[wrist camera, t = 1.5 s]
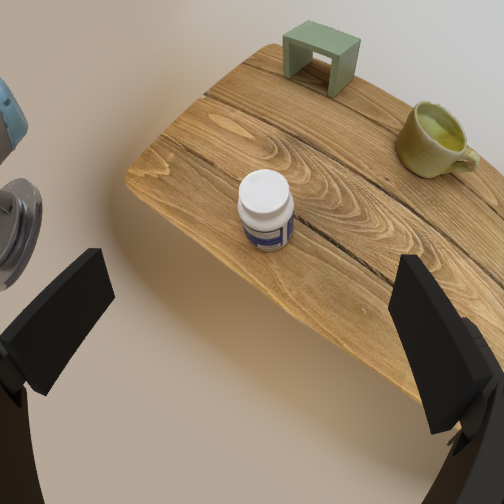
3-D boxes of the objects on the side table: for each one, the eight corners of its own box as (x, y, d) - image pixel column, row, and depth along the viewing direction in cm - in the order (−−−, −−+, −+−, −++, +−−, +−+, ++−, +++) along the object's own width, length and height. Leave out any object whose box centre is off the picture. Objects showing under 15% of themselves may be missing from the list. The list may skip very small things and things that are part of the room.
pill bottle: (268, 200, 37) (263, 154, 27) (302, 229, 35) (308, 188, 26) (235, 231, 36) (220, 192, 26) (269, 262, 34) (265, 230, 25)
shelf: (283, 76, 44) (282, 35, 36) (307, 58, 46) (308, 20, 37) (333, 98, 42) (339, 55, 33) (353, 78, 43) (361, 39, 34)
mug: (374, 146, 36) (416, 99, 27) (398, 128, 40) (433, 90, 32) (431, 212, 35) (481, 177, 26) (446, 183, 39) (486, 152, 30)
